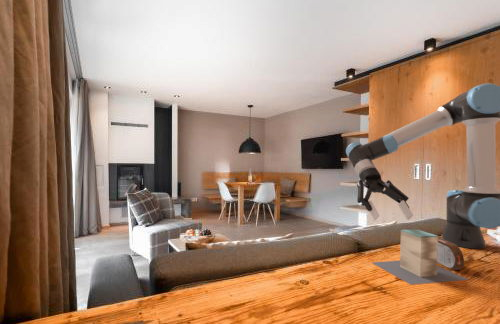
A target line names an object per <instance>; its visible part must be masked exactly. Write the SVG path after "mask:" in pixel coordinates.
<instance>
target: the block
mask: <svg viewBox="0 0 500 324" xmlns="http://www.w3.org/2000/svg"><path fill="white" fill-rule="evenodd" d="M438 237H439V236H438V235H437V234H433V233H430V232H427V231H423V230H421V229H418V228H417V229H416V228H415V229H414V228H413V229H400V244H399V245H400V248H399V249H400V252H399V255H400V256H399V257H400V258H399V261H400V267H402V268H404V269H406V270H408V271H410V272H412V273H414V274H416V275H418V276H419V277H425V276H437V266H438V262H437V253H438Z"/></svg>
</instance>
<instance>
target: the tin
mask: <svg viewBox="0 0 500 324" xmlns="http://www.w3.org/2000/svg"><path fill="white" fill-rule="evenodd" d="M437 264H439V265H442V266H443V267H446V268H447V269H449V270H452V271H456V270H457V271H461V270H462V269H463V268H464V265H465V257H464V254H463V252H462V250H461V247H459V246H457V245H455V244H453V243H451V242H449V241H446V240H444V239H442V238H441V237H439V236H438V253H437Z"/></svg>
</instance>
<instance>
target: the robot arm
mask: <svg viewBox="0 0 500 324" xmlns="http://www.w3.org/2000/svg"><path fill="white" fill-rule="evenodd" d="M436 109H437V110H436V111H433V112H431V113H429V114H427V115H425V116H423V117H421V118H419V119H417V120H415V121H412V122H411V123H408V124H406V125H404V126H402V127H399V128H398V129H395V130H394V131H391V132H389V133H387V134H385V135H383V136H381V137H378V138H377V139H375V140H372V141H369V142H367V143H363V144H362V143H361V142H359V141H358V142H352V143H350V144H348V146H347V147H346V148H345V153H346V155H347V158H348V160H349V162H350V163H351V165H352V167H353V170H354V171H355V173H356V174H357V176H358V178H359V181H358V182H357V184H356V187H357V198H356V199H357V200H356V201H357V203H358V204H361V206H363V207H365V209H366V210H367V212H369V215H371V217H372V219H373V221H376V220H377V219H378V218H379V217H380V214H379V212H378V210H377V208H376V206H375V205H374V203H373V201H372V200H370V198H371V195H372V193H374V194H375V193H378V194H379V193H380V194H382V195H386V196H387V197H389V198H390V199H392V200H393V201H395V202H396V203H398V204H397V205H398V206H399V208H400V211H401V212H402V214H403V215H404V216H405V218H406V220H411V218H413V216H414V214H413V212H412V210H411V209H410V205H409V204H408V203H407V202H408V200H409V197H408V196H407V194H405V193H403V192H402V191H401V190H400V189H399V188H398V187H396V186H395V185H394V184H393V183H392V182H391V180H386V181H383V179H382V175H381V173H380V171H379V169H377V167H376V165H375V163H374V160H376V159H379V158H382V157H384V156H387V155H390V154H392V153H394V152H397V151H398V150H399V148H401V147H403V146H404V145H407V144H408V143H411V142H413V141H416V140H417V139H419V138H422V137H424V136H426V135H429V134H431V133H433V132H435V131H437V130H439V129H441V128H444V127H452V126H454V125H456V124H458V123H461V124H463V125H465V126H466V127H465V129H466V187H464V188H463V189H461V190H460V189H459V190H457V189H453V190H452V189H451V190H448V191H447V192H446V193H447V194H446V197H445V198H446V223H445V226H444V228H443V231H442V233H441V237H440V238H442V239H444V240H446V241H449V242H451V243H453V244H455V245H457V246H458V247H459V248H466V249H467V248H468V249H476V250H477V249H485V248H486V240H485V237H484V235H483V232H482V229H481V228H483V229H495V228H498V227H500V189H498V188H497V174H496V173H497V172H496V171H497V170H496V169H497V167H496V164H497V163H496V158H497V157H496V150H497V149H496V147H497V146H496V124H497V123H498V122H500V85H499V84H496V83H490V82H489V83H482V84H479V85H475V86H474V87H472V88H471V89H469V90H466V91H464V92H463V93H460V94H459V95H457V96H455V97H454V98H453V99H451V100H450V101H448V102H446V103H445V104H443V105H440V106H439V107H437V108H436ZM365 188H367V190H366V193H364V192H365ZM364 195H365V196H364Z"/></svg>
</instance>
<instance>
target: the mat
mask: <svg viewBox="0 0 500 324" xmlns="http://www.w3.org/2000/svg"><path fill="white" fill-rule="evenodd" d="M370 263H371V264H373V265H375V266H376V267H378V268H380V269H382V270H384V271H385V272H387V273H389V274H391V275H392V276H394V277H396V278H398V279H399V280H402V281H403V282H405V283H407V284H408V285H421V284H422V285H423V284H434V283H435V284H436V283H447V282H456V281H459V282H460V281H466V280H467V281H469V280H470V279H469V278H466V277H464V276H462V275H460V274H457V273H454V272H452V271H450V270H448V269H445V268H443V267H440V266H438V265H437V276H425V277H419V276H418V275H416V274H414V273H412V272H410V271H408V270H406V269H404V268H402V267H400V260H390V261H388V260H387V261H386V260H385V261H371V262H370Z"/></svg>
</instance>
